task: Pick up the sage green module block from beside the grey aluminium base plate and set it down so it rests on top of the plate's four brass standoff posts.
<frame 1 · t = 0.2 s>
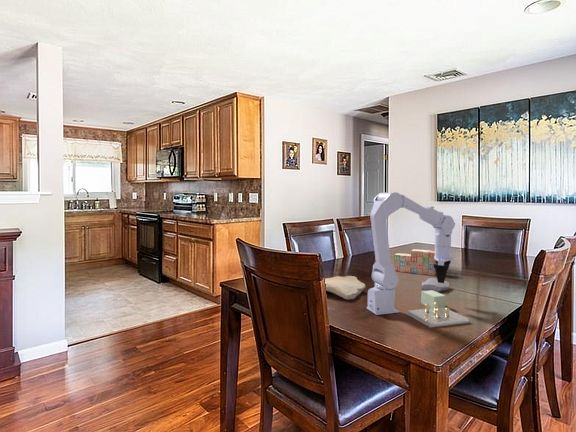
hand: (441, 280, 145), 10 cm above the table, tool pointing down, fingers open, 7 cm apart
stack of blocks: (414, 272, 203), on the table
cream rock: (334, 293, 165), on the table
stone block: (436, 290, 169), on the table
module block: (432, 306, 145), on the table
base plate: (436, 318, 130), on the table
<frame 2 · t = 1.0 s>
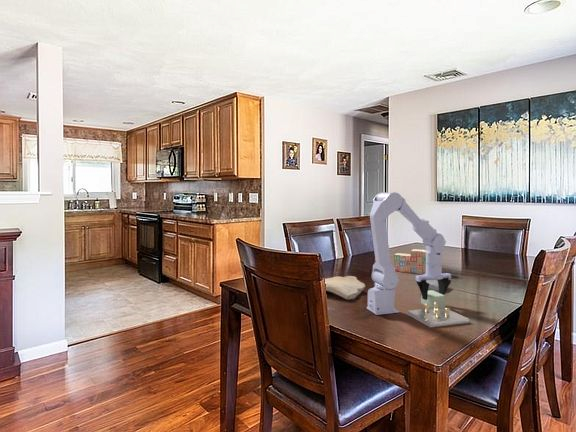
hand: (433, 298, 145), 3 cm above the table, tool pointing down, fingers open, 7 cm apart
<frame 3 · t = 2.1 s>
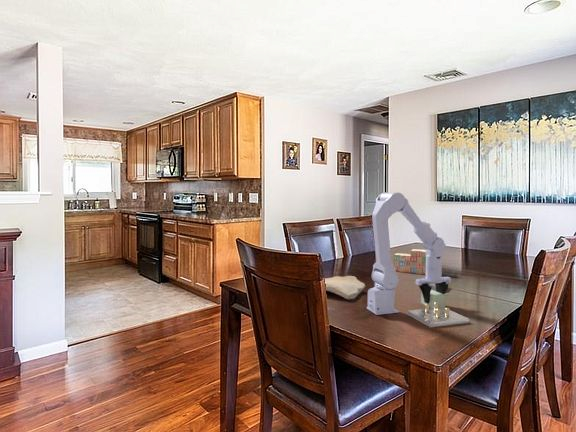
hand: (432, 302, 145), 1 cm above the table, tool pointing down, fingers closed on module block, 5 cm apart
module block: (432, 305, 145), on the table, touching gripper
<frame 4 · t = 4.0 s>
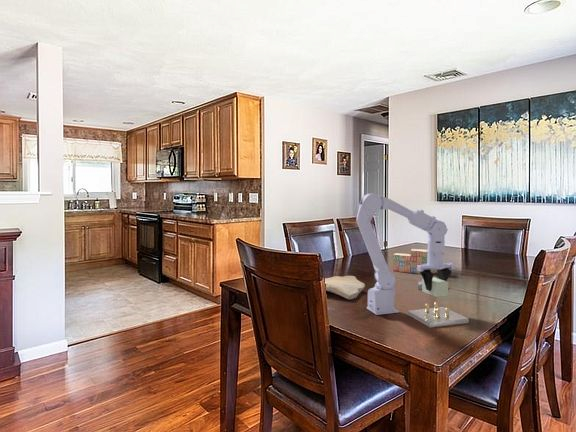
hand: (435, 289, 137), 8 cm above the table, tool pointing down, fingers closed on module block, 5 cm apart
module block: (434, 293, 138), point 7 cm above the table, touching gripper
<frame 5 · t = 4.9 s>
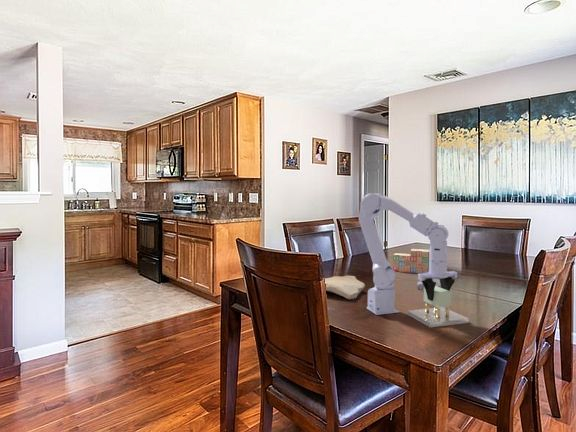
hand: (437, 299, 130), 7 cm above the table, tool pointing down, fingers closed on module block, 5 cm apart
module block: (436, 303, 130), point 5 cm above the table, touching gripper
when the fingers open (7 cm above the table, at t = 5.7 s): module block stays where it is, resting on base plate.
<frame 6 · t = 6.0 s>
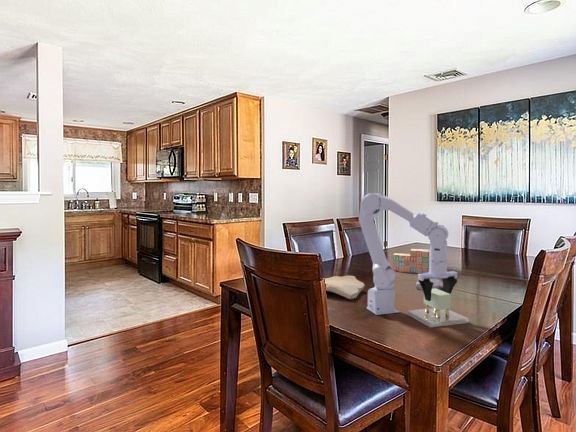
hand: (437, 299, 130), 7 cm above the table, tool pointing down, fingers open, 7 cm apart
module block: (436, 305, 130), point 4 cm above the table, touching base plate
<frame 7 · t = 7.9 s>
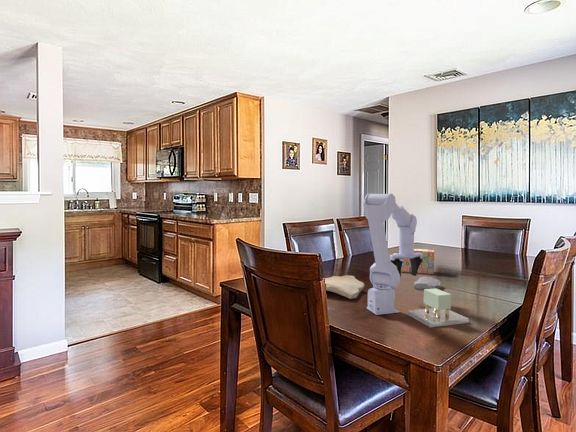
hand: (406, 276, 153), 10 cm above the table, tool pointing down, fingers open, 7 cm apart
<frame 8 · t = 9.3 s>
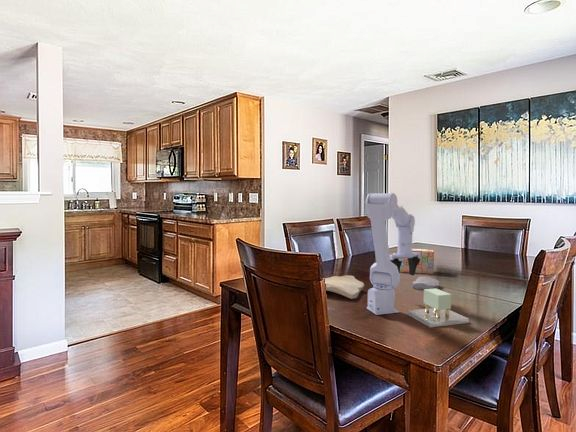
hand: (404, 275, 155), 9 cm above the table, tool pointing down, fingers open, 7 cm apart
at the end: module block 0.1 cm off-centre on the base plate, point 4.5 cm above the base plate's base; module block tilted 0°; the gripper is holding nothing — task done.
